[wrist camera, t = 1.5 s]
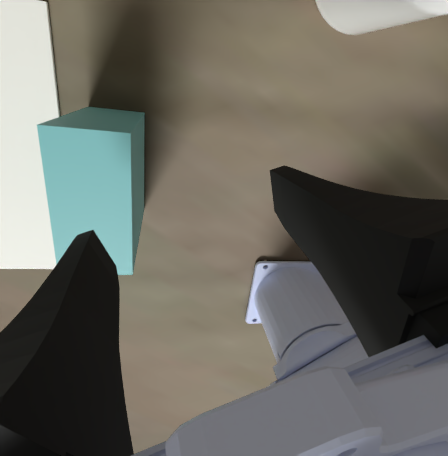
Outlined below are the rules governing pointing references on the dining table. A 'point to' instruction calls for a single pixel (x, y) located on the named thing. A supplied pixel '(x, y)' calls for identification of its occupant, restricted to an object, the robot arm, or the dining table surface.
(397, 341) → the robot arm
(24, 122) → the mat
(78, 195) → the teal slab
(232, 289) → the dining table surface
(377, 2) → the pill bottle
